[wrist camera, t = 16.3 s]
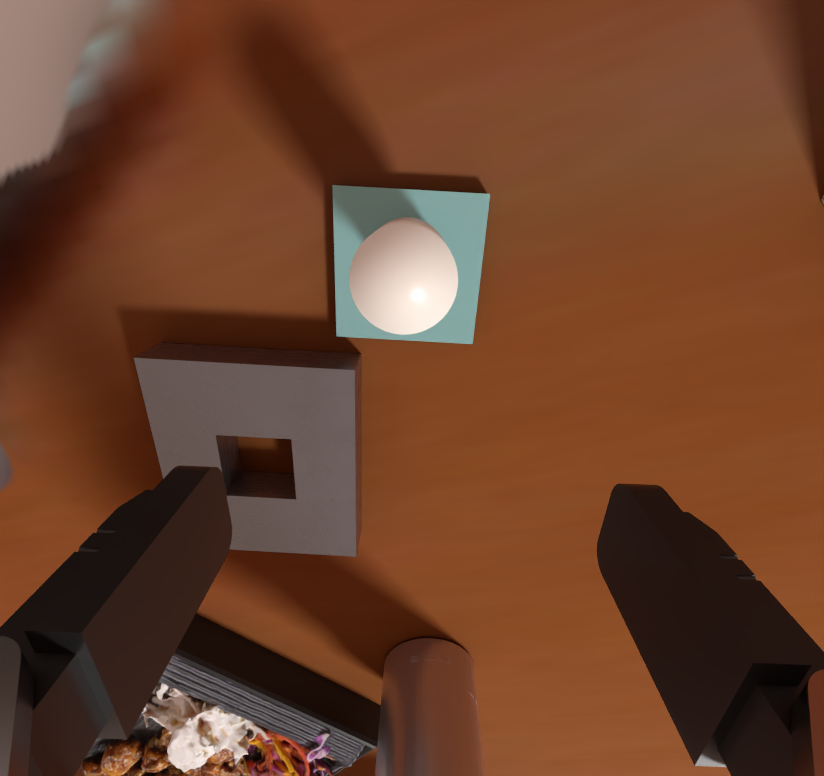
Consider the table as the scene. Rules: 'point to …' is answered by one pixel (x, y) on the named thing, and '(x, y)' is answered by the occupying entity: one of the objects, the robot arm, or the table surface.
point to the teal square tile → (445, 211)
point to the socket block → (265, 418)
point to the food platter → (239, 716)
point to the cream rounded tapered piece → (404, 277)
